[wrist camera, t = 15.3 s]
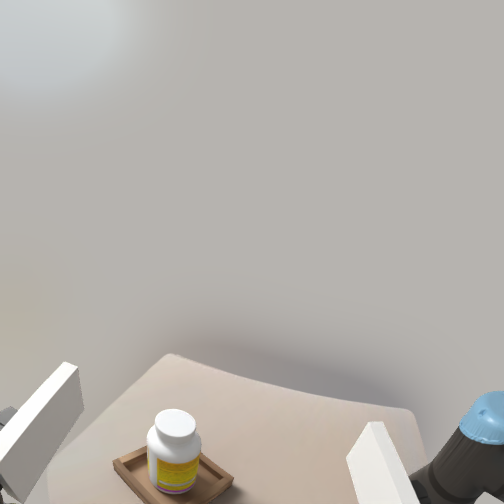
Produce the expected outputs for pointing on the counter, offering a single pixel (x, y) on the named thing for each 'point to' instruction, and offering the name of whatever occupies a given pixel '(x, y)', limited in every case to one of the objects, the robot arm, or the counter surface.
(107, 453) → the counter surface
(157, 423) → the supplement bottle
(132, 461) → the walnut tray
